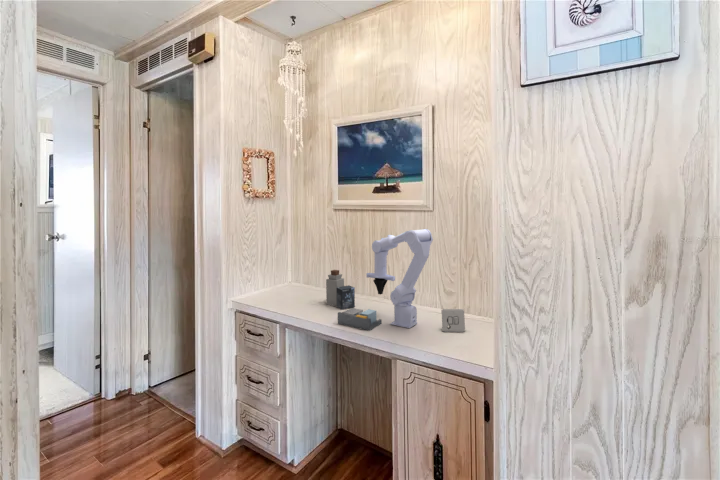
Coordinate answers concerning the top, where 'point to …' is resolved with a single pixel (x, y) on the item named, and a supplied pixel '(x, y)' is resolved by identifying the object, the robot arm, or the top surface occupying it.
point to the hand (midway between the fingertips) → (380, 293)
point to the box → (345, 297)
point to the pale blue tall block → (370, 314)
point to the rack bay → (357, 319)
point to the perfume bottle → (333, 287)
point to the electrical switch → (453, 320)
